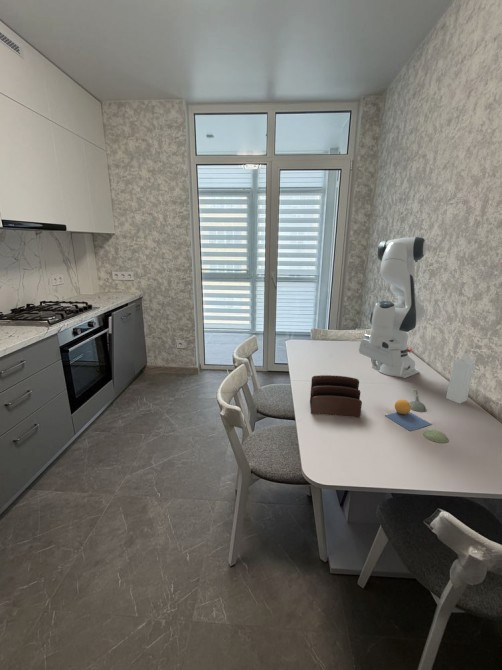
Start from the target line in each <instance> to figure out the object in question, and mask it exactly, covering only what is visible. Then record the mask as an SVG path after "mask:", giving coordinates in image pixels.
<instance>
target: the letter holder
mask: <svg viewBox="0 0 502 670" xmlns="http://www.w3.org/2000/svg"><path fill="white" fill-rule="evenodd" d="M310 384H311V385H310V397H309V407H310V414H314V415H322V416H323V415H325V416H334V417H335V416H336V417H345V418H346V417H348V418H356V419H357V418H358V419H361V416H362V415H361V414H362V407H363V406H362V405H363V402H362V400H361V398H360V397H361V390H360V389H359V387H360V386H359V385H360V381H359V379H358V378H356V377H350V376H343V375H327V374H323V375H322V374H321V375H313V376H312V377H311V383H310Z"/></svg>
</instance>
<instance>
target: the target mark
mask: <svg viewBox="0 0 502 670" xmlns="http://www.w3.org/2000/svg"><path fill="white" fill-rule="evenodd" d="M384 416H385V417H386V418H388V419H389V420H391V421H393V422H394V423H396V424H397V425H399V426H401V427H402V428H404V429H405V430H407V431H408V432H412V431H415V430H420V429H422V428H425V427H428V426H431V425H433V424H432V423H430V422H429V421H427V420H425V419H423V418H421V417H420V416H418V415H416V414H414V413H413V412H411V411H409V413H407V414H400V413H398V412H397V411H396V412H393V413H388V414H385V415H384Z"/></svg>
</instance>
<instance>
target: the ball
mask: <svg viewBox="0 0 502 670" xmlns="http://www.w3.org/2000/svg"><path fill="white" fill-rule="evenodd" d="M409 403H410V402H409V401H408V400H406V399H398V400H397V401H395V403H394V409H395V411H396V412H398V413H400V414H407V413H409V412H411V406H410V404H409Z"/></svg>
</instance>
